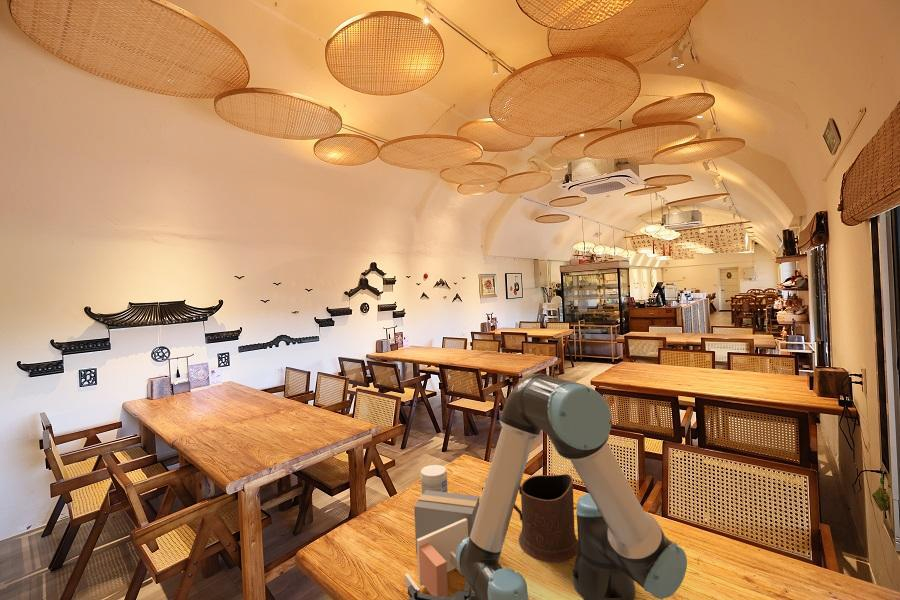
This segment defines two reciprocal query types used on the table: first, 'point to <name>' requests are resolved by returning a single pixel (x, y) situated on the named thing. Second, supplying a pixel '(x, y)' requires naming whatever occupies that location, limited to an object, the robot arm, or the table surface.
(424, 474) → the supplement tub
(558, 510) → the brown pitcher
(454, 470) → the table surface
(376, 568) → the table surface
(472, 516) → the carton
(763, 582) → the table surface
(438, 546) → the door
